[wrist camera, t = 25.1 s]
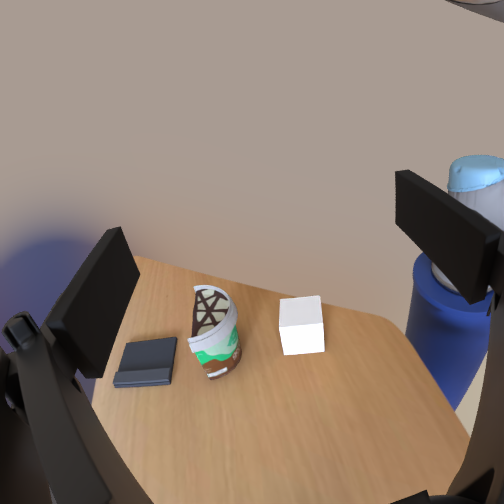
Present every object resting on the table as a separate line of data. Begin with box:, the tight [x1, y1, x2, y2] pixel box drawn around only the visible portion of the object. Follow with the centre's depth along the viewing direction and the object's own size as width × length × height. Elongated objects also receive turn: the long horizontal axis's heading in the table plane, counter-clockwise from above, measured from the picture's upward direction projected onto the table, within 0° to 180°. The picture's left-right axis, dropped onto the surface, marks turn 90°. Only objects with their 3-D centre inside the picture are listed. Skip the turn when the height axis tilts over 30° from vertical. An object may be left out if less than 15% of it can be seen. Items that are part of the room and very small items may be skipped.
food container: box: [188, 285, 241, 380], centre depth 44 cm, size 12×6×10 cm, turn 5°
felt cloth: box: [113, 337, 177, 388], centre depth 47 cm, size 10×10×1 cm
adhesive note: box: [279, 295, 324, 355], centre depth 45 cm, size 6×6×6 cm
